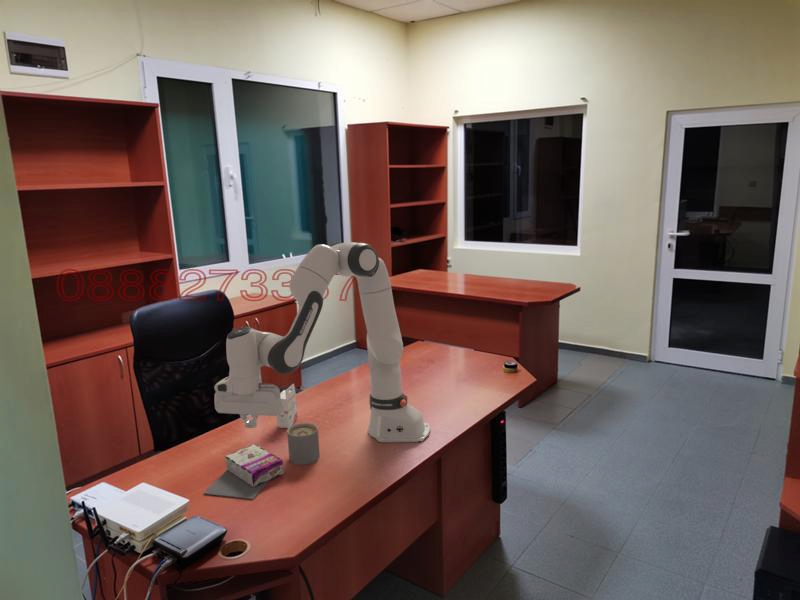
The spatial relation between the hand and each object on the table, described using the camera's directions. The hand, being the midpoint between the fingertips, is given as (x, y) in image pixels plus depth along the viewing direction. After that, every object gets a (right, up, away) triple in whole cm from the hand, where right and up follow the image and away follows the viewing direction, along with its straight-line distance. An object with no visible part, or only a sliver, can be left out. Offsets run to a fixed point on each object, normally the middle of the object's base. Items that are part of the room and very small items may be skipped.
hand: (251, 426), depth 167 cm
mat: (-4, -18, +5) cm, 19 cm away
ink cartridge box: (+2, -9, +46) cm, 47 cm away
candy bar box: (+4, -15, +4) cm, 16 cm away
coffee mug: (+13, -14, +21) cm, 29 cm away
